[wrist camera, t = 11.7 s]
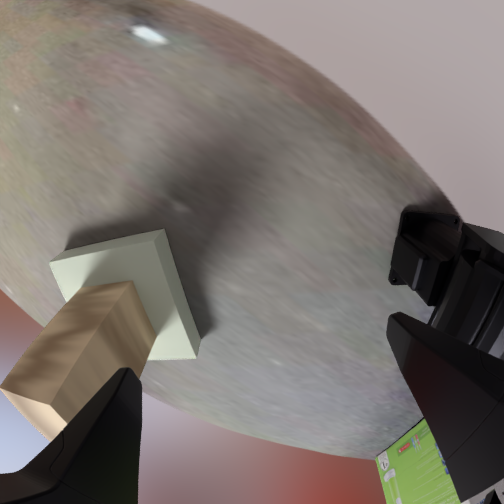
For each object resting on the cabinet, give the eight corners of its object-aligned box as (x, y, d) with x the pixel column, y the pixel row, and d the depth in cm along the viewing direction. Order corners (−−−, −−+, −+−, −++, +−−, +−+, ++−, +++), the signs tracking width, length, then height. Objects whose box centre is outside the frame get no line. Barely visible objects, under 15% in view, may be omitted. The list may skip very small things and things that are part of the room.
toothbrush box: (408, 452, 39) (431, 537, 17) (373, 457, 38) (393, 554, 16) (463, 403, 32) (505, 499, 10) (431, 407, 31) (475, 523, 9)
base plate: (164, 228, 20) (153, 240, 18) (201, 339, 25) (196, 358, 22) (63, 250, 21) (48, 262, 19) (107, 343, 25) (98, 359, 23)
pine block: (132, 280, 19) (50, 405, 8) (156, 336, 21) (109, 461, 10) (80, 287, 20) (-2, 387, 9) (106, 338, 22) (50, 441, 11)
